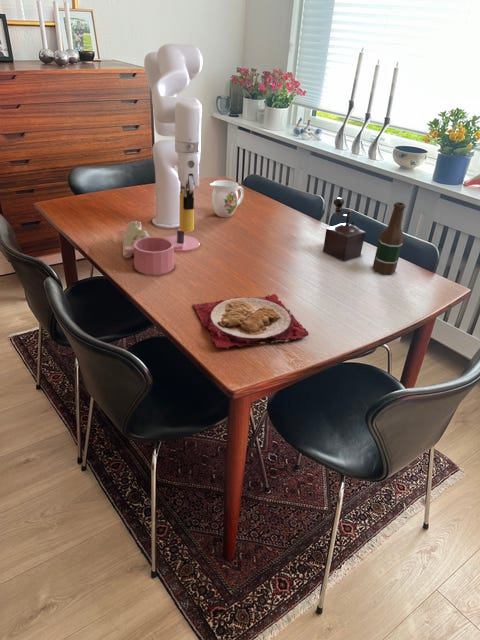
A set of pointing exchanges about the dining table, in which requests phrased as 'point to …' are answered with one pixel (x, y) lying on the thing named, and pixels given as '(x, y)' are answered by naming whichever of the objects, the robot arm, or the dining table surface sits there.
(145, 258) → the pot
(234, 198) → the pitcher
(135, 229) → the cheese
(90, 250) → the dining table surface
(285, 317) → the plate with food
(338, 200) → the coffee grinder
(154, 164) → the robot arm
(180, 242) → the lid
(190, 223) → the yellow stepped cylinder
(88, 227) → the dining table surface
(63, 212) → the dining table surface
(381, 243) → the beer bottle
